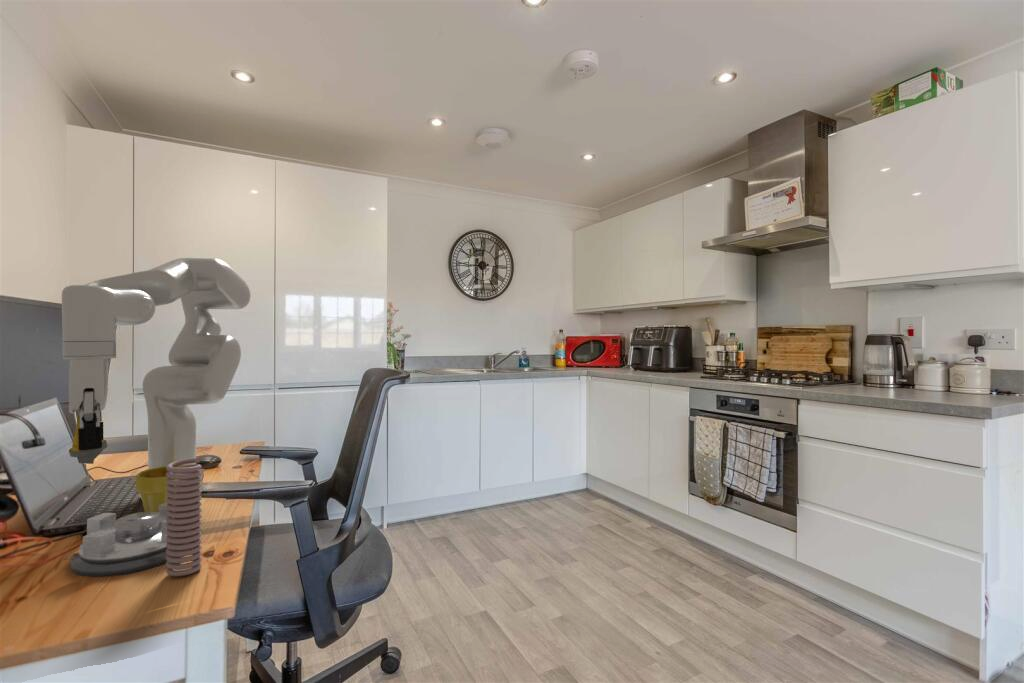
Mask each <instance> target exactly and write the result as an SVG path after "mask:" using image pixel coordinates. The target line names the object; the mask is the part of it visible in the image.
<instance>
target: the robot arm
mask: <svg viewBox="0 0 1024 683" xmlns="http://www.w3.org/2000/svg"><path fill="white" fill-rule="evenodd" d="M179 299H180V302H181V305H182V310H183V313H184V319H185V320H184V324H183V326H182V328H181V331H180V332H179V334H178V335H177V336H176V339H175V340H174V342H173V343H172V346H171V348H170V349H169V352H168V362H169V364H170V365H164V366H163V365H162V366H158V367H156V368H153V369H151V370H149V371H148V372H147V373H146V374H145V375H144V377H143V380H142V392H143V398H144V400H145V406H146V412H147V469H151V468H156V467H161V466H167V465H168V464H170V463H172V462H175V461H179V460H183V459H189V458H197V421H196V417H195V415H194V413H193V412H192V411H191V409H190V407H189V406H188V405H210V404H212V405H213V404H217V403H219V402H220V401H222V400H223V399H224V398H225V396H226V395H227V392H228V390H229V388H230V387H231V386H230V385H231V384H232V381H233V379H234V376H235V375H236V372H237V369H238V368H239V365H240V361H241V356H242V355H241V354H242V352H241V346H240V343H239V341H238V339H236V338H235V337H233V336H231V335H228V334H227V335H226V334H221V331H222V328H221V324H220V323H219V321H218V320H217V318H215V317H214V315H212V313H211V312H210V310H241V309H244V308H246V307H247V306H248V305H249V303H250V301H251V291H250V287H249V285H248V284H247V282H246V281H245V280H244V279H243V278H242V277H241V275H240V274H238V273H237V272H236V271H235V269H233V267H231V265H229V264H228V263H226V262H225V261H223V260H221V259H218V258H211V257H210V258H209V257H208V258H204V257H202V258H201V257H179V258H176V259H172V260H170V261H167V262H165V263H163V264H160V265H158V266H156V267H153V268H151V269H148V270H143V271H137V272H131V273H128V274H127V273H126V274H121V275H117V276H111V277H106V278H102V279H98V280H93V281H92V282H88V283H86V284H75V285H74V284H73V285H67V286H64V287H63V290H62V291H61V329H62V330H61V334H62V338H61V339H62V343H61V345H62V360H69V361H70V362H69V374H68V376H69V377H68V387H69V388H68V412H69V414H75V413H76V411H78V410H79V415H80V429H78V444H79V450H80V451H82V450H90V449H99V448H101V447H102V440H104V421H102V420H103V419H102V417H103V414H102V412H103V410H105V408H106V404H107V399H108V390H109V388H108V387H109V359H117V328H116V326H137V325H142V324H145V323H147V322H149V321H150V320H151V319H152V318H153V317H154V314H155V312H156V307H158V306H165V305H169V304H172V303H174V302H176V301H177V300H179ZM190 464H197V463H188V464H183V465H190ZM140 497H141V495H140V494H139V498H140Z"/></svg>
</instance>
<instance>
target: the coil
mask: <svg viewBox="0 0 1024 683" xmlns="http://www.w3.org/2000/svg"><path fill="white" fill-rule="evenodd" d="M200 461H201V459H200V458H199V457H196V458H189V459H183V460H179V461H175V462H172V463H170V464H168V465H167V467H166V470H167V471H168V472H167V473H166V476H167V477H168V478H167V479H166V483H167V486H166V489H167V490H168V491H167V492H166V495H167V498H166V502H167V505H166V508H167V509H168V510H167V511H166V515H167V517H166V521H167V524H166V528H167V530H166V534H167V536H166V540H167V543H166V547H167V549H166V553H167V556H166V560H167V562H166V563H165V566H166V568H165V572H166V574H167V575H169V576H171V577H182V576H183V577H184V576H189V575H192V574H194V573H197V572H198V571H199V570H201V569H202V566H203V565H202V559H203V558H202V557H201V556H202V551H201V550H202V545H201V543H202V538H201V537H202V535H203V534H202V532H201V531H202V526H201V525H202V520H200V519H202V517H203V515H202V514H201V513H202V512H203V511H202V508H201V507H202V504H203V503H202V502H201V500H202V492H203V491H201V490H200V489H199V488H201V486H202V485H201V484H202V483H201V481H202V477H201V475H202V471H201V469H202V467H203V466H202V465H201V464H199V463H200ZM188 463H196V464H190V465H184V466H179V467H176V468H175V466H178V465H183V464H188ZM173 473H177V474H173ZM174 479H177V480H174ZM173 486H175V487H173ZM173 492H175V493H173ZM174 498H175V499H174ZM173 505H174V506H173ZM173 511H175V512H173ZM172 524H173V525H172ZM190 530H191V531H190ZM186 537H188V538H186ZM172 543H173V544H172ZM186 543H189V544H186ZM183 544H184V545H183ZM187 549H191V550H187ZM183 550H187V551H183Z"/></svg>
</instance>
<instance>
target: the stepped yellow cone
mask: <svg viewBox="0 0 1024 683" xmlns="http://www.w3.org/2000/svg"><path fill="white" fill-rule="evenodd" d="M78 429H80V414H79V415H77V420H76V426H75V430H74V436H73V441H72V445H71V448H70V449H69V450H68V453H69V456H70V457H71V458H76V459H77V462H78V464H89V465H93V464H94V463H95V460H96V458H98V456H100V454H102V452H103V451H104V450H105V449H106V448H108V443H107V440H106V439H103V440H102V447H101V448H99V449H90V450H82V451H80V450H79V444H78Z"/></svg>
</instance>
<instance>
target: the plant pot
mask: <svg viewBox="0 0 1024 683" xmlns="http://www.w3.org/2000/svg"><path fill="white" fill-rule="evenodd" d="M179 466H184V465H178V466H175V468H176V467H179ZM166 467H167V466H161V467H156V468H151V469H148V468H147V469H144V470H142V471H140V472H138V473H137V474H136V476H135V490H136V492H137V493H138V494H139V496H140V495H141V499H142V505H143V510H144V512H147V511H155V512H158V506H159V505H161V504H164V503H166V498H167V495H166V492H167V491H168V490H167V489H166V486H167V483H166V479H167V478H168V477H167V476H166V473H167V472H168V471H167V470H166ZM173 474H177V473H173ZM174 480H177V479H174ZM173 487H175V486H173ZM173 493H175V492H173ZM174 499H175V498H174Z"/></svg>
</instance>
